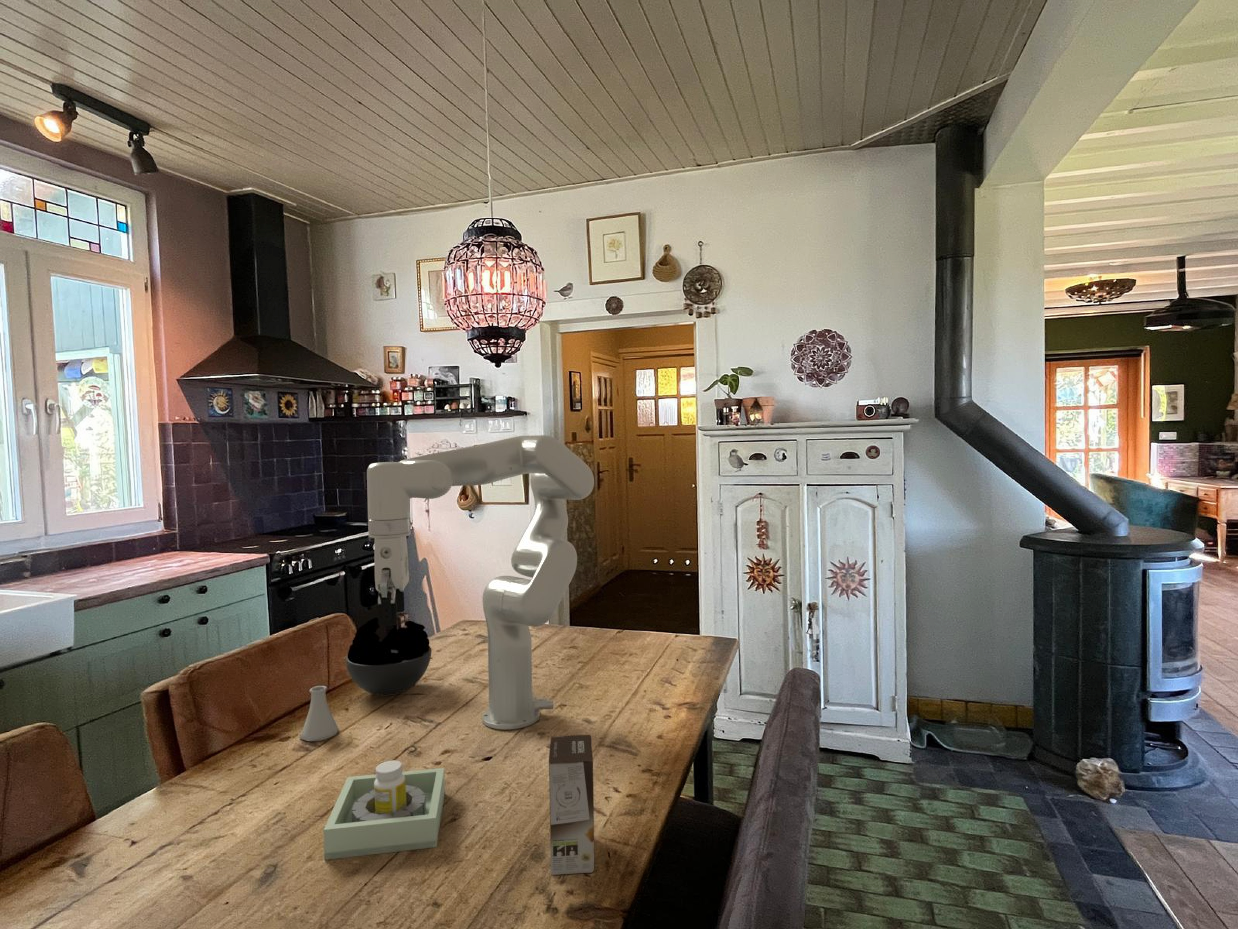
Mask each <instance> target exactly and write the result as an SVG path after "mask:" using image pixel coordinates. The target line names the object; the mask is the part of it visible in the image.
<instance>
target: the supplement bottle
mask: <svg viewBox="0 0 1238 929" xmlns="http://www.w3.org/2000/svg"><path fill="white" fill-rule="evenodd" d="M402 772H403V765H402V762H401V761H399V760H394V759H393V760H387V761H384V762H382V763H379V764H378V765H377V766H376V767H375V774H376V780H375V782H374V794H375V810H376V814H378V815H382V814H391V813H394V812H397V811H400V810H403V809H404V808H406V807H407V802H406V785H405V776H404V774H403V773H402Z"/></svg>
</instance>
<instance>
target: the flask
mask: <svg viewBox="0 0 1238 929" xmlns="http://www.w3.org/2000/svg"><path fill="white" fill-rule="evenodd" d="M327 689H328V687H327V686H325V685H316V686H313V687H311V688H310V689H309V694H310V704H309V709H308V712H307V716H306V719H305V722H304V724H303V727H302V729H301V733H300V736H299V740H303V741H307V742H319V741H325V740H327V739H330V738H332V737H333V736H336V734H337V733H338V731H339V727H338V725H337V723H336V720H335V719H334V716H333V714H332V712H331V710H330V706H329V705H328V700H327V696H326V690H327Z"/></svg>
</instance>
